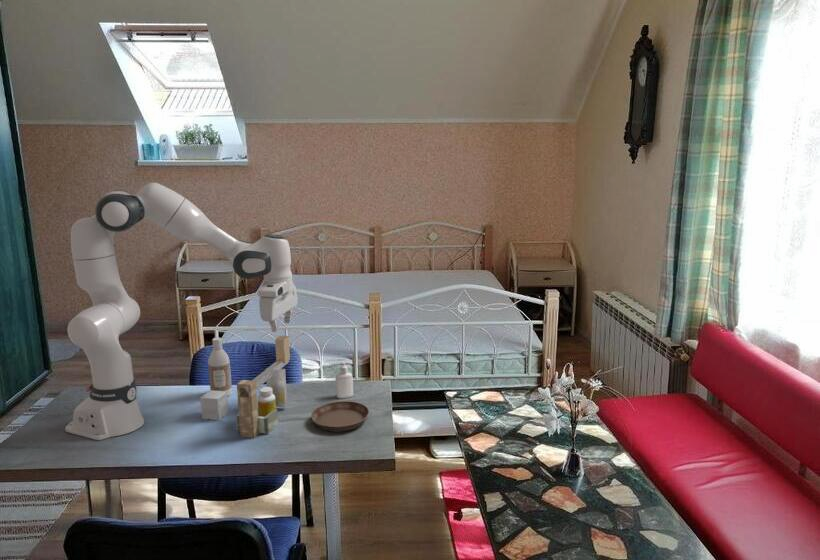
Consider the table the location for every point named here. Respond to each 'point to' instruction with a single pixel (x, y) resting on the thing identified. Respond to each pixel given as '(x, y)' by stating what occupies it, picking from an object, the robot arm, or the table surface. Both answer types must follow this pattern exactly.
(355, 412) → the plant saucer
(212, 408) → the product box
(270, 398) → the supplement bottle
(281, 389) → the rod with square block
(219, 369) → the bath foam
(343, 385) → the eye dropper bottle
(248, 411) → the frame
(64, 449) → the table surface
